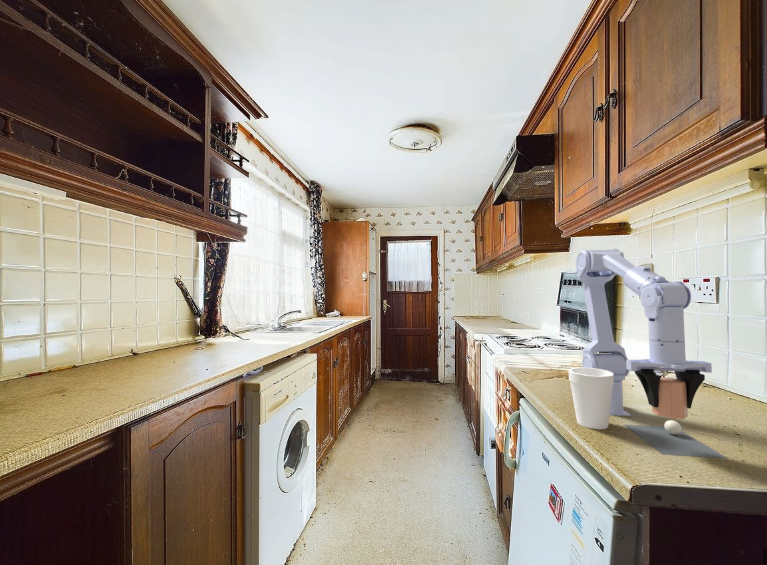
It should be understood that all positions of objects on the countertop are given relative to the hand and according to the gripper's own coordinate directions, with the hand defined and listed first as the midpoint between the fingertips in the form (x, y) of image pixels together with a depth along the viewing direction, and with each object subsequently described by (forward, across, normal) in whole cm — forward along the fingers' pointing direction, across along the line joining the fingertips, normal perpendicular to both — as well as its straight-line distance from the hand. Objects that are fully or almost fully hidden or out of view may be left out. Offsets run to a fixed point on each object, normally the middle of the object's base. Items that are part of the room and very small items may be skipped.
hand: (669, 406), depth 70 cm
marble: (+8, +4, +7) cm, 12 cm away
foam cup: (+9, -10, +11) cm, 18 cm away
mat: (+9, +2, +4) cm, 10 cm away
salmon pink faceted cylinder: (+2, 0, 0) cm, 2 cm away
